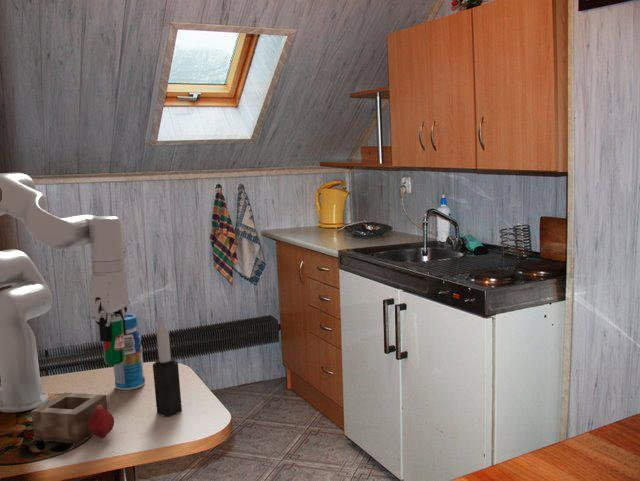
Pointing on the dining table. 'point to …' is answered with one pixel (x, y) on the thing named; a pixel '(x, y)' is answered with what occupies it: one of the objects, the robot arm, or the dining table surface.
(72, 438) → the well block
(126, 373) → the beverage bottle
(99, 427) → the onion
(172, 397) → the black handled stick
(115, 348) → the soda can
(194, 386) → the dining table surface
